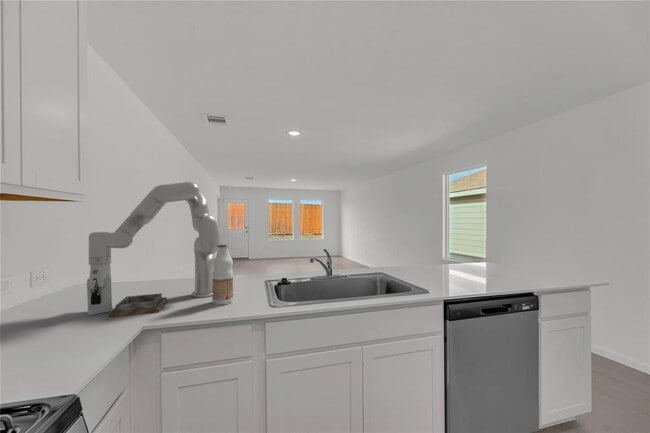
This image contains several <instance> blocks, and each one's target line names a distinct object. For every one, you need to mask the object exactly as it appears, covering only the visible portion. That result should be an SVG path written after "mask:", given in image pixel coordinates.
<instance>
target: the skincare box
mask: <svg viewBox="0 0 650 433" xmlns="http://www.w3.org/2000/svg"><path fill="white" fill-rule="evenodd" d="M96 287H99V286H96ZM86 290H87V291H86V292H87V293H86V294H87V295H86V296H87V315H88V316H92V315H96V314H104V313H110V312H111V311H112V310H113V299H112V297H113V296H112V275H111V276H109V277H108V278H106V287H104V288H102V287H101V290H100V294H101V303H100V304H96V305H91V292H90V291H91V290H90V286H89V278H87V279H86ZM95 290H97V291H98V289H95Z"/></svg>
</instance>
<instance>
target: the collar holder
mask: <svg viewBox="0 0 650 433" xmlns="http://www.w3.org/2000/svg"><path fill="white" fill-rule="evenodd" d="M162 296H163V294H162V292H161V293H152V294H150V293H149V294H142V295H141V294H140V295H139V294H138V295H129V296H127V295H126V296H125V297H124V298H122V299H121V300H120V301H119V302H118V303H117V304H116V305H115V308H112V311H109V312H108V318H116V317H115V316H117V317H123V316H124V317H125V315H126V316H134V315H133V314H136V315H143V313H145V314H150V313H151V314H153V313H154V312H155V313H160V311H161V310H162V308H163V307H164V305H165V303H166V302H167V301H168V300H167V299H168V298H167V297H162Z"/></svg>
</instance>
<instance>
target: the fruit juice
mask: <svg viewBox="0 0 650 433" xmlns="http://www.w3.org/2000/svg"><path fill="white" fill-rule="evenodd" d="M233 265H234V260H233V258H232V257H231V254H230V252H229V244H227V243H222V244H221V243H220V244H219V245H218V251H217V252H216V255H215V256H214V261H213V267H214V271H213V289H212V296H211V297H212V304H213V305H217V306H222V305H224V306H225V305H229V304H232V303H233V301H234V270H233Z"/></svg>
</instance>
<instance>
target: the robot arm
mask: <svg viewBox="0 0 650 433" xmlns="http://www.w3.org/2000/svg"><path fill="white" fill-rule="evenodd" d="M180 201H185V202H186V203H187V204H188V206H189V209H190V214H191V215H190V216H191V221H192V228H193V229H194V231H195V232H197V233H198V236H197V237H196V238H195V240H194V242H193V252H194V291H192V292H191V297H193V298H207V297H212V289H213V271H214V267H213V261H214V259H215V254H217V252H218V245H219V244H221V240H220V233H219V232H220V231H219V226H218V222H217V220H216V218H215V217H213V216H212V215H210V212H209V211H210V210H209V207H208V202H207V199H206V198H205V196H204V195H203V194H202V193H201V192H200V189H199V186H198V185H197V184H196V183H195V182H193V181H192V182H191V181H185V182H176V183H169V184H167V183H166V184H159V185H156V186H154V187H153V188H152V189H151V190H150V191H149V193H148V194H147V195H146V196H145V197H144V198H143V199H142V200H141V202H139V204H138V205H136V207H135V208H134V209H133V210H132V212H131V213H130V214H129V216H128V217H126V219H125V220H124V221H123V222H122V223H121V224H120V225H119V227H117V229H116V230H115V231H114V232H108V231H95V232H90V233H89V235H88V266H90V267H89V268H90V269H89V278H88V279H89V286H90V290H91V291H90V292H91V305H96V304H100V303H101V294H100V290H101V287H102V288H104V287H106V278H108V277H109V276H111V277H112V273H111V271H112V270H111V264H112V249H126V248H128V247H130V246H131V245H132V243H133V240H134V239H133V238H134V237H135V236H136V234H137V233H138V232H139V231H140V230H141V229H142V228H143V227H145V226H146V225H147V224H149V223H150V222H151V221H153V220H154V218H155V217H156V216H157V214H158V213H159V212H160V211H161V210H162V209H163V207H165V205H166V204H167V203H173V202H180ZM96 286H99V287H96ZM95 289H98V291H97V290H95Z"/></svg>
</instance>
